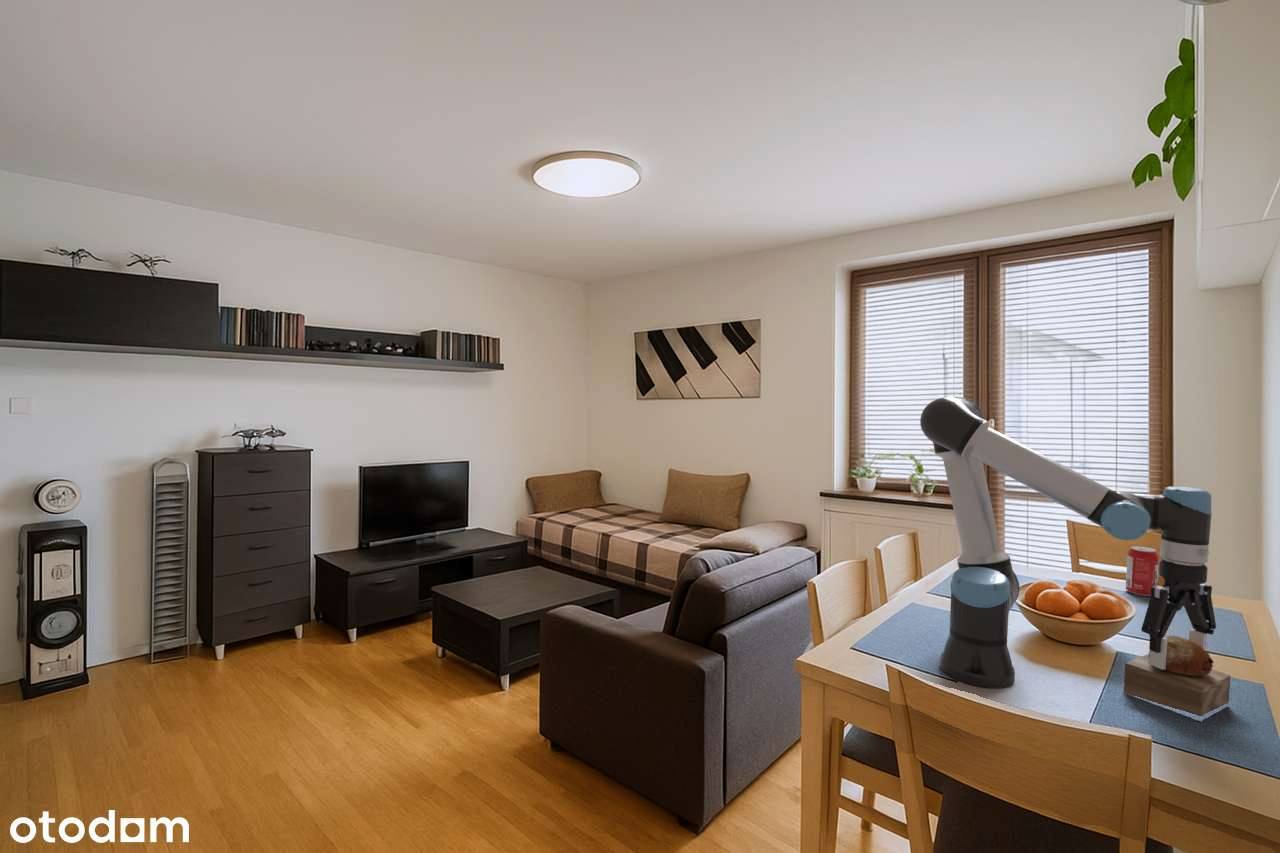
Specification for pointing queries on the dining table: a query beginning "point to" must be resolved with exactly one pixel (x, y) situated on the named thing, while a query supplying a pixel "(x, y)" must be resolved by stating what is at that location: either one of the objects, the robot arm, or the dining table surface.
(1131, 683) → the walnut box
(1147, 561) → the soda can
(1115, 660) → the dining table surface
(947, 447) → the robot arm
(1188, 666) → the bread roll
